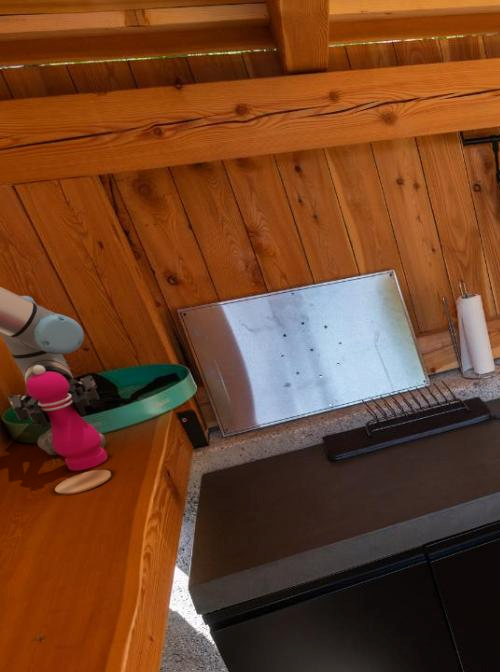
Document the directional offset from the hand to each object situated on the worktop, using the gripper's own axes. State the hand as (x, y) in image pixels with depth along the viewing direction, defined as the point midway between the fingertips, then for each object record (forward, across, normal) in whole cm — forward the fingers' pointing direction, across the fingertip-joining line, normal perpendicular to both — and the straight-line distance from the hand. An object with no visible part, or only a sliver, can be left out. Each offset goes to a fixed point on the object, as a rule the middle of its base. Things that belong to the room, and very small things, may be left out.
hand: (61, 414), depth 136 cm
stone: (-14, +1, -12) cm, 19 cm away
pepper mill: (-5, 0, -12) cm, 13 cm away
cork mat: (+4, +2, -12) cm, 13 cm away
